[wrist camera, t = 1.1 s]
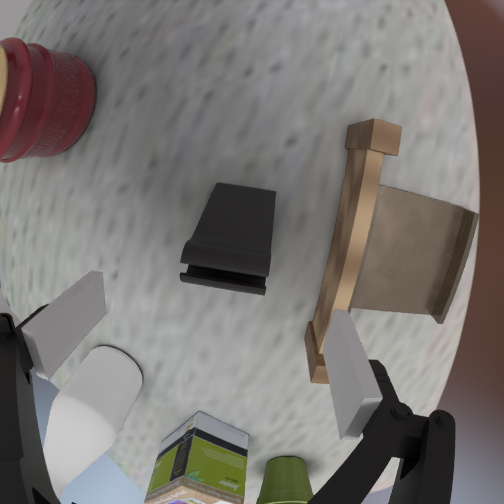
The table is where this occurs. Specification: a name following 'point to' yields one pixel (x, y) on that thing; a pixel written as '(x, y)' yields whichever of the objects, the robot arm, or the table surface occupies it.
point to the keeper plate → (413, 254)
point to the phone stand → (232, 240)
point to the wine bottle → (89, 413)
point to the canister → (41, 100)
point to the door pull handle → (350, 230)
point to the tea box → (200, 465)
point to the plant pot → (285, 482)
